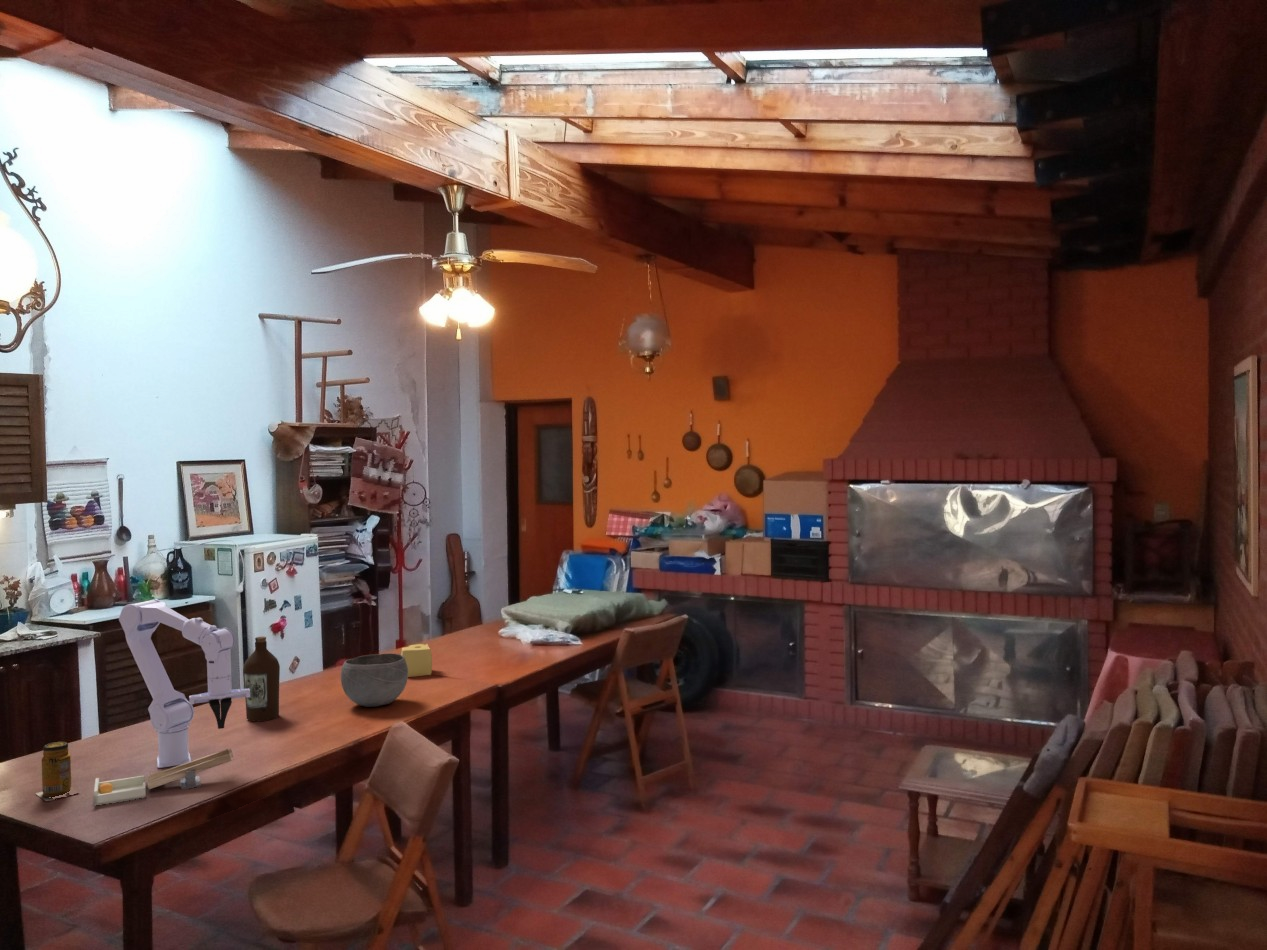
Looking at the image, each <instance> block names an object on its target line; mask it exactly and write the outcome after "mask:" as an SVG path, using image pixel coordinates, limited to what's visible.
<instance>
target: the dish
mask: <svg viewBox="0 0 1267 950" xmlns="http://www.w3.org/2000/svg"><path fill="white" fill-rule="evenodd" d="M104 783H110V784H111V785H112V786H113V791H112V793H105V794H100V793H99V787H100V786H101V785H102V784H104ZM146 790H147V789H146V775H139V776H138V775H137V776H132V777H124V778H118V779H112V780H105V781H100V777H96V778H95V781H94V789H93V799H94V802H93V803H94V807H97V806H96V805H100V806H103V805H102V804H106V805H110V804H109V803H112V804H117V802H118V803H122V802H123V801H124V802H130V801H135V799H136V800H140V799H139V798H142V799H145V798H144V797H147V794H146V792H147V791H146ZM129 800H130V801H129Z"/></svg>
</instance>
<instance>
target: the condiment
mask: <svg viewBox="0 0 1267 950" xmlns="http://www.w3.org/2000/svg"><path fill="white" fill-rule="evenodd" d="M42 751H43V752H42V754H43V755H42V758H41V779H42V780H41V782H42V783H41V786H42V791H38V792H36V793H35V795H37V796H38V798H41V799H42V800H44V801H45V802H50V801H51V802H52V801H55V799H53V798H52V797H55V796H59V795H63V794H65V793H67V792H69V791H70V790H71V788H72V768H71V763H72V762H71V761H72V760H71V754H70V753H69V743H68V742H66V741H57V742H56V741H55V742H49V743H47V744H45V745H43V747H42ZM49 797H51V798H49Z"/></svg>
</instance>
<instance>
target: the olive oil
mask: <svg viewBox="0 0 1267 950" xmlns="http://www.w3.org/2000/svg"><path fill="white" fill-rule="evenodd" d="M254 640H255V641H254V648H255V649H254V651H253V652H252V653H251V654H250V655H249V657H247V658H246V660H245V662H244V665H243V667H242V668H243V669H242V674H243V684H244V689H248V688H249V689H250V697H244V698H245V713H246V720H247V719H248V720H247V721H249V720H251V721H250V722H265V721H264V720H266V721H271V720H274V719H276V717H277V718H278V717H279V715H280V675H281V674H280V673H281V672H280V670H281V669H280V668H281V667H280V663H279V660H278V658H277V657H276V656H275V655H274V654H273V653H272V652H271V651H269V649H268V647H267V646H268V643H267V636H257V637H255V638H254ZM270 719H271V720H270Z"/></svg>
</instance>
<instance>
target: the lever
mask: <svg viewBox="0 0 1267 950" xmlns="http://www.w3.org/2000/svg"><path fill="white" fill-rule="evenodd" d="M234 760H235V758H234V754H233V751H232V748H231V747H229V748H226V749H224V750H220V751H218V752H215V753H212V754H208V755H206V756H203V757H198V758H196V759H194V760H191V762H188V763H185V764H182V765H176V766H172V767H171V768H168V769H159V770H157V771H154V772H151V773H149V775H147V776H146V780H147V782H146V783H147V788H148V790H151V789H154V788H157V787H160V786H163V785H166V784H168V783H171V782H175V781H179V780H180V779H182V778H185V777H186V771H190V770H195V774H197V773H200V772H203V771H206V770H208V769H212V768H214V767H218V766H221V765H223V764H226V763H229V762H232V761H234Z"/></svg>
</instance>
